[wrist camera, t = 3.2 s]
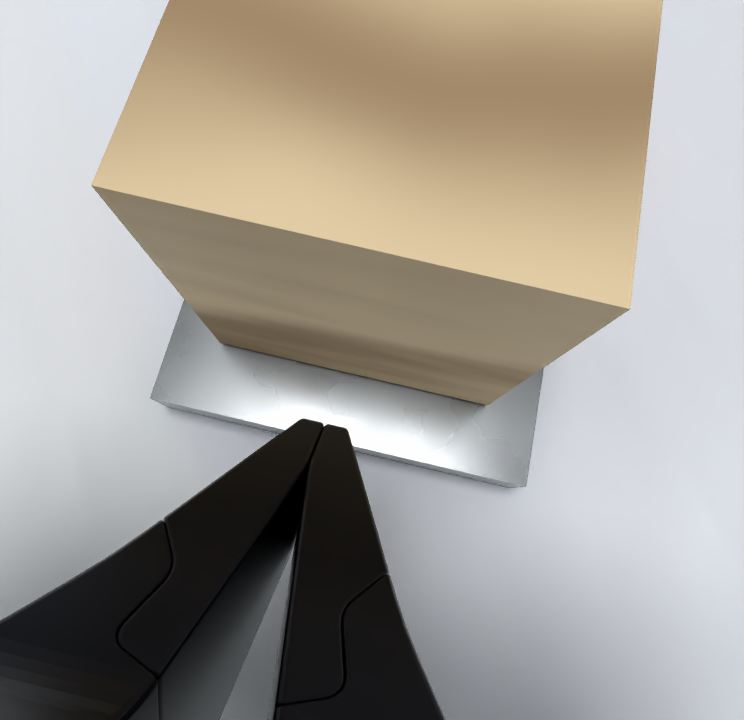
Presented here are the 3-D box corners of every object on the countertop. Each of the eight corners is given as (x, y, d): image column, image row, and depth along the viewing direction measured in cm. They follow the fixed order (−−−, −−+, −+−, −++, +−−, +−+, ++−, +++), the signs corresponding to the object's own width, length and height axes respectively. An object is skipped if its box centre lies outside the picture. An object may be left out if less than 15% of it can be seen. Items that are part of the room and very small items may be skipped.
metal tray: (573, 502, 16) (632, 503, 13) (106, 392, 17) (44, 364, 13) (639, -30, 22) (691, -126, 19) (290, -106, 22) (279, -214, 19)
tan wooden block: (487, 405, 15) (630, 308, 8) (219, 342, 15) (91, 185, 8) (519, 224, 17) (664, -10, 9) (275, 168, 17) (214, -108, 9)
